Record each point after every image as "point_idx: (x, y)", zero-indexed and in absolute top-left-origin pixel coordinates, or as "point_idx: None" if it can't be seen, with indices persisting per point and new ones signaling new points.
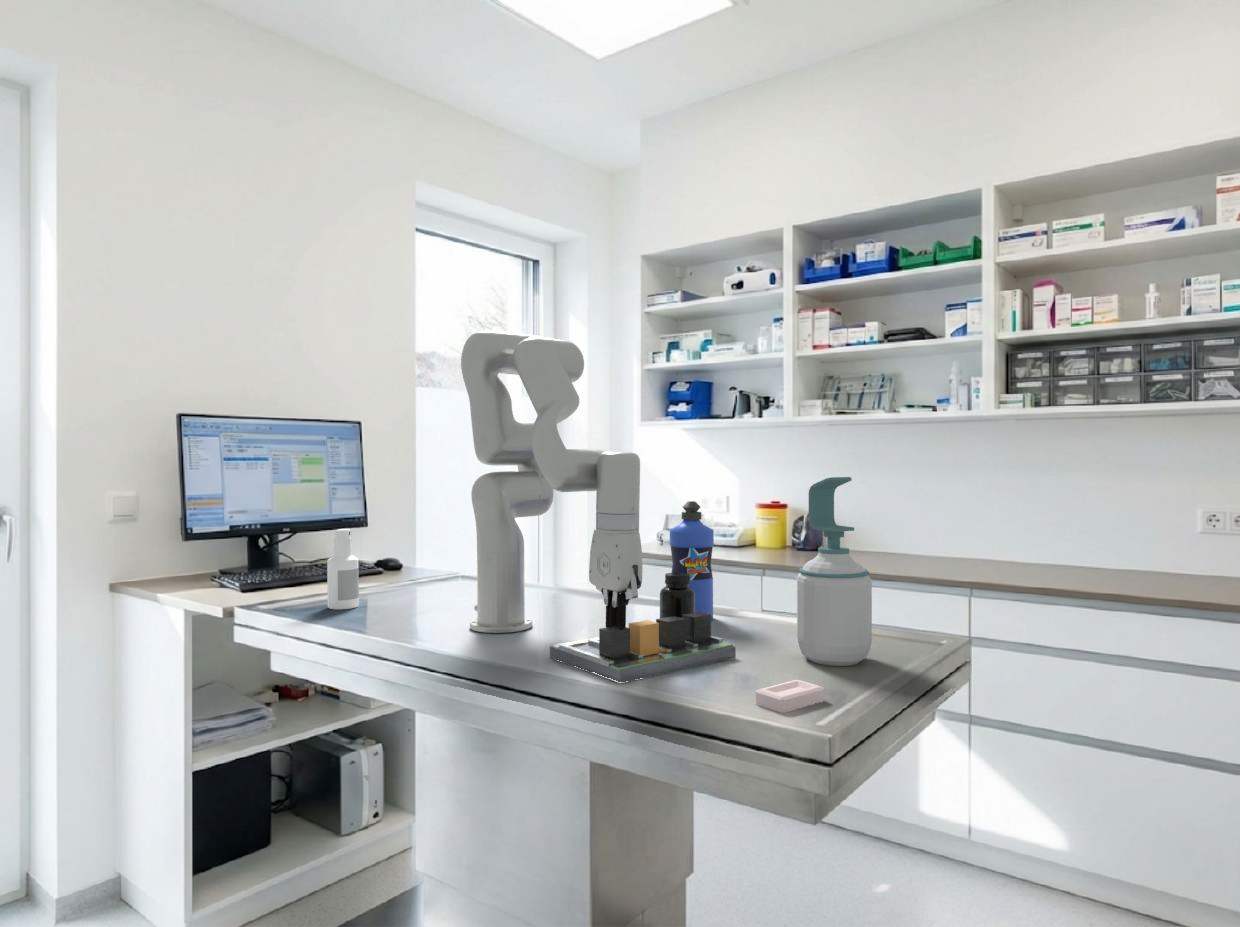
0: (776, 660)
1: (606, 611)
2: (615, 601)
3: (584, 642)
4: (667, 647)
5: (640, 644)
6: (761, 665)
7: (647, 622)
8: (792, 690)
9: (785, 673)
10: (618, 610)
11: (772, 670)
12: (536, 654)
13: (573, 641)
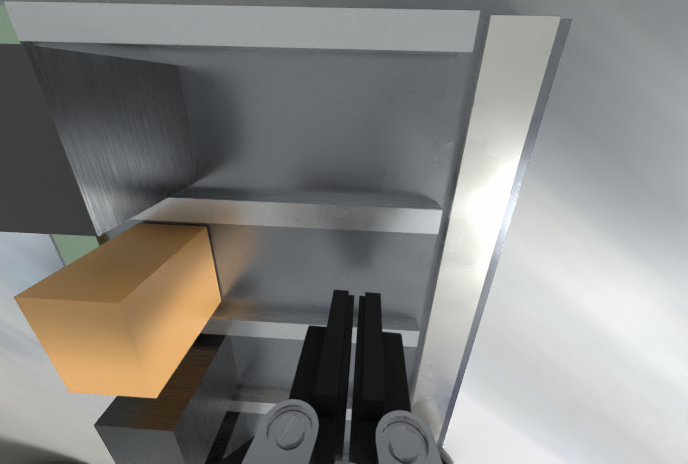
0: None
1: (377, 361)
2: (262, 450)
3: (455, 195)
4: None
5: (100, 246)
6: (90, 411)
7: (98, 370)
8: None
9: (16, 401)
10: (290, 395)
11: (46, 401)
12: (646, 18)
13: (513, 169)
